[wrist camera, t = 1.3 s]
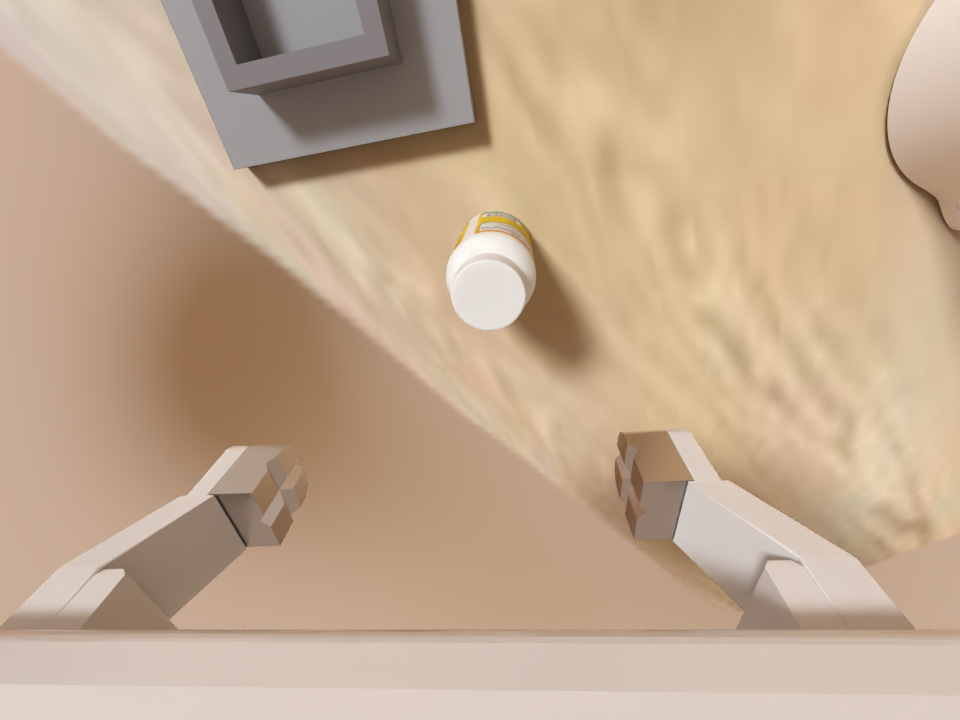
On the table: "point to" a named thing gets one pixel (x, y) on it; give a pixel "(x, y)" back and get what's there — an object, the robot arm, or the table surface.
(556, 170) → the table surface
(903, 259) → the table surface
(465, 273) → the supplement bottle
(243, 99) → the bottle stand
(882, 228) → the table surface
